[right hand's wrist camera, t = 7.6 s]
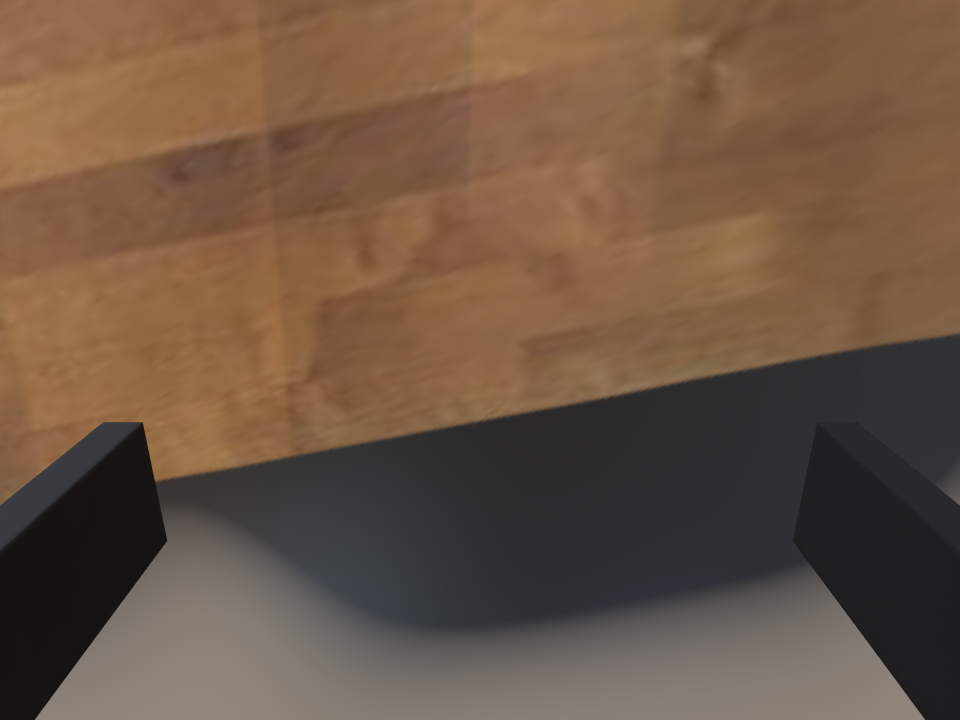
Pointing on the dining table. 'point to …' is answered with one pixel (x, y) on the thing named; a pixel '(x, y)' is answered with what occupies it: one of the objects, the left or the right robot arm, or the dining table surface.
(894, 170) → the dining table surface
